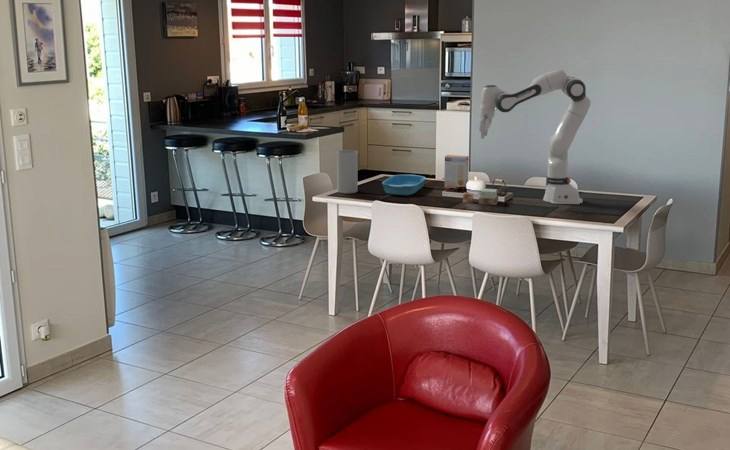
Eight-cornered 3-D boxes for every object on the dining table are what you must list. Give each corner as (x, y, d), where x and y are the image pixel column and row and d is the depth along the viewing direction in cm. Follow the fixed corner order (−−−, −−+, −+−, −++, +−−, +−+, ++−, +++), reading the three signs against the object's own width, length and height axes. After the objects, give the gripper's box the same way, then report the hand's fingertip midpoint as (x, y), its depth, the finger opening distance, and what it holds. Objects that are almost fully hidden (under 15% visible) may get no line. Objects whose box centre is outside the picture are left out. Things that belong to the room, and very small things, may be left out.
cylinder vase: (360, 193, 490) (360, 152, 484) (340, 194, 486) (340, 153, 480) (353, 189, 502) (353, 149, 495) (334, 190, 498) (334, 150, 491)
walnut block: (498, 202, 467) (498, 195, 466) (496, 206, 458) (496, 199, 457) (481, 201, 470) (481, 194, 469) (478, 204, 461) (478, 198, 460)
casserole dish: (413, 198, 478) (413, 186, 476) (377, 195, 485) (377, 183, 483) (429, 186, 511) (429, 175, 510) (395, 184, 519) (396, 173, 517)
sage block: (496, 196, 465) (496, 189, 464) (494, 198, 458) (495, 192, 457) (482, 195, 468) (483, 188, 467) (480, 198, 460) (481, 191, 459)
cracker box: (468, 188, 503) (469, 155, 498) (465, 190, 498) (466, 157, 493) (446, 186, 509) (447, 154, 504) (443, 188, 503) (444, 155, 498)
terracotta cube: (472, 201, 469) (473, 192, 468) (471, 202, 464) (471, 194, 463) (464, 200, 470) (464, 192, 469) (462, 202, 466) (463, 194, 464)
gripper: (489, 116, 449) (486, 140, 453) (494, 111, 468) (491, 135, 472) (478, 115, 451) (475, 139, 455) (484, 110, 469) (481, 133, 474)
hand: (483, 137), depth 463 cm, fingers open, 8 cm apart
